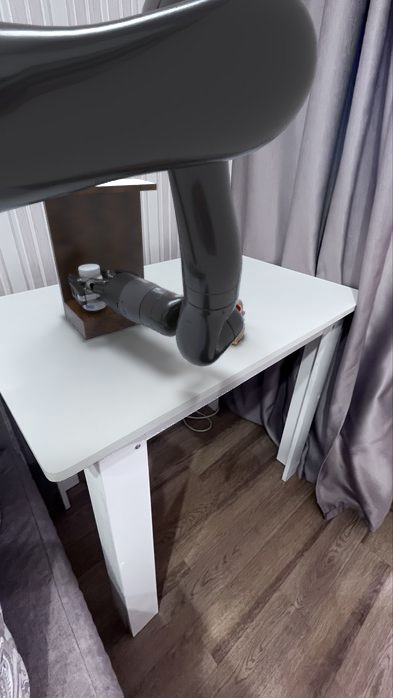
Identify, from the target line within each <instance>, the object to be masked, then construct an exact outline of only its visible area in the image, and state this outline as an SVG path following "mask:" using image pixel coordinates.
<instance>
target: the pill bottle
mask: <svg viewBox="0 0 393 698" xmlns="http://www.w3.org/2000/svg"><path fill="white" fill-rule="evenodd" d="M78 269H79V275H80V277H82V278H85V279H89V278H91V277H92V278H98V279H103V277H102V276H101V275H100V267H99V265H97V264H85V265H81V266H79V268H78ZM94 284H95V283H94ZM85 288H87V285H86V284H85ZM105 306H106V304H105V303H104V302H102V301H97V300H95V299H91V300H88V301H87V305H83V308H84V309H86V310H90V311H95V310H100V309H102V308H104V307H105Z"/></svg>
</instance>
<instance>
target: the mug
mask: <svg viewBox="0 0 393 698" xmlns="http://www.w3.org/2000/svg"><path fill="white" fill-rule="evenodd" d="M243 303H244V302H243V300H241V299H239V298H238V301H237V304H236V308H237V309H238V310H239V312H240V313H241V315H242V317H243V321H244V327H243V330H242V332H241V334H240V335H239V337H238V338H237V339H236V340H235V341H234V342H233V343H232V344H231V345H238V342H239V341H240V340H241V339H242V338H243V336H244V334H245V331H246V322H245V320H246V319H245V317H244V316H245V315H246V311H245V310H244V304H243Z"/></svg>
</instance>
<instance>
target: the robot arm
mask: <svg viewBox="0 0 393 698" xmlns="http://www.w3.org/2000/svg"><path fill="white" fill-rule="evenodd" d="M318 41H319V40H318V34H317V30H316V26H315V21H314V19H313V17H312V14H311V11H310V9H309V7H308V6H307V4H306V2H305V1H304V0H144V2H143V5H142V7H141V13H136V14H133V15H128V16H125V17H121V18H118V19H111V20H105V21H101V22H96V23H89V24H88V23H87V24H77V25H40V24H30V23H19V22H9V21H1V20H0V214H2V213H5V212H8V211H9V212H10V211H14V210H16V209H20V208H24V207H27V206H32V205H35V204H39V203H43V201H47V200H50V199H54V198H57V197H61V196H65V195H68V194H72V193H75V192H78V191H82V190H85V189H88V188H91V187H94V186H98V185H101V184H105V183H108V182H112V181H117V180H122V179H131V178H135V177H140V176H146V175H151V174H157V173H164V172H167V177H168V182H169V187H170V192H171V197H172V204H173V210H174V215H175V222H176V229H177V236H178V245H179V256H180V269H181V281H182V282H181V283H182V293H183V294H178V293H176V292H174V291H172V290H169V289H166V288H164V287H161V286H160V285H158V284H157V283H155V282H152V281H150V280H147V279H146V278H144V279H143V278H140V274H139V273H135V272H131V271H126V270H121V269H115V272H112V271H111V270H106V271H105V270H103V269H100V275H101V276H102V277H103V279H98V278H92V277H91V278H89V279H85V278H82V277H80V276H78V275H76V274H73V273H71V274H69V277H68V279H69V284H70V285H71V289H72V295H73V296H74V298H75V299H76V300H77V301H78V302H79V303H80V305H87V301H88V300H91V299H95V300H97V301H102V302H104V303H105V304H106V305H107V306H108V307H109V309H110V310H112V311H113V312H115V313H117V314H119V315H121V316H123V317H125V318H127V319H129V320H131V321H133V322H135V323H137V324H136V325H139V326H144V327H146V328H148V329H150V330H152V331H154V332H156V333H158V334H160V335H162V336H165V337H170V338H171V337H175V343H176V346H177V349H178V351H179V353H180V354H181V356H182V358H183V359H184V360H185V361H187V362H188V363H189V364H191V365H193V366H196V367H208V366H211V365H213V364H214V363H216V362H217V361H218V360H219V359H220V358H221V357H222V355H224V353H225V352H226V351H227V350H228V349H229V348H230V347H231V346H232V345H233V344H232V343H233V342H234V341H235V340H236V339H237V338H238V337H239V335H240V334H241V332H242V330H243V327H244V321H243V317H242V315H241V313H240V312H239V310H238V309H237V308H236V304H237V301H238V299H239V297H240V291H241V283H242V282H241V281H242V273H243V246H242V238H241V233H240V228H239V224H238V223H239V222H238V217H237V213H236V208H235V203H234V197H233V192H232V191H233V190H232V185H231V175H230V161H233V160H237V159H240V158H243V157H246V156H248V155H251V154H252V153H255V152H258V151H259V150H261V149H262V148H264V147H265V146H267V145H269V144H270V143H272V141H274V140H275V139H276V138H278V137H279V136H280V135H281V134H282V133H283V132H284V131H285V130H286V129H287V128H288V127H289V126H290V125H291V124H292V122H293V121H294V120H295V118H296V117H297V116H298V114H299V113H300V112H301V110H302V109H303V107H304V106H305V105H304V104H305V103H306V101H307V99H308V97H309V95H310V93H311V91H312V89H313V86H314V82H315V79H316V76H317V69H318V62H319V43H318ZM94 283H95V284H94ZM85 284H86V285H87V288H85Z"/></svg>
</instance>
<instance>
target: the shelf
mask: <svg viewBox="0 0 393 698" xmlns="http://www.w3.org/2000/svg"><path fill="white" fill-rule="evenodd" d="M150 191H151V192H152V191H158V184H157V183H155V182H151V181H147V180H143V179H138V178H126V179H121V180H117V181H112V182H108V183H105V184H101V185H98V186H94V187H91V188H88V189H85V190H82V191H78V192H75V193H72V194H68V195H65V196H61V197H57V198H54V199H50V200H47V201H43V202H42V205H43V211H44V215H45V220H46V225H47V230H48V235H49V240H50V245H51V250H52V251H51V252H52V255H53V256H52V257H53V261H54V266H55V270H56V276H57V281H58V286H59V291H60V292H59V293H60V297H61V301H62V307H63V311H64V316H65V318H66V319H67V320H68V321H69V323H71V325H73V327H74V328H75V329H76V330H77V331H78V332H79V333H80V334H81V336H82V337H83V338H84V339H85V340H89V339H92V338H96V337H99V336H103V335H105V334H110V333H113V332H115V331H119V330H122V329H125V328H129V327H133V326H135V325H138V324H137V323H135V322H133V321H131V320H129V319H127V318H125V317H123V316H121V315H119V314H117V313H115V312H113V311H112V310H110V309H109V307H108V306H107V305H106V306H105V307H104V308H102V309H100V310H95V311H90V310H86V309H84V308H83V305H80V303H79V302H78V301H77V300H76V299H75V298H74V296H73V295H72V289H71V285H70V284H69V279H68V277H69V274H71V273H73V274H76V275H78V276H80V275H79V269H78V268H79V266H81V265H85V264H97V265H99V267H100V269H103V270H105V271H106V270H111V271H112V272H115V269H121V270H126V271H131V272H135V273H139V274H140V278H143V279H145V263H144V262H145V261H144V242H143V223H142V221H143V219H142V201H141V199H142V197H141V192H150Z"/></svg>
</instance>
